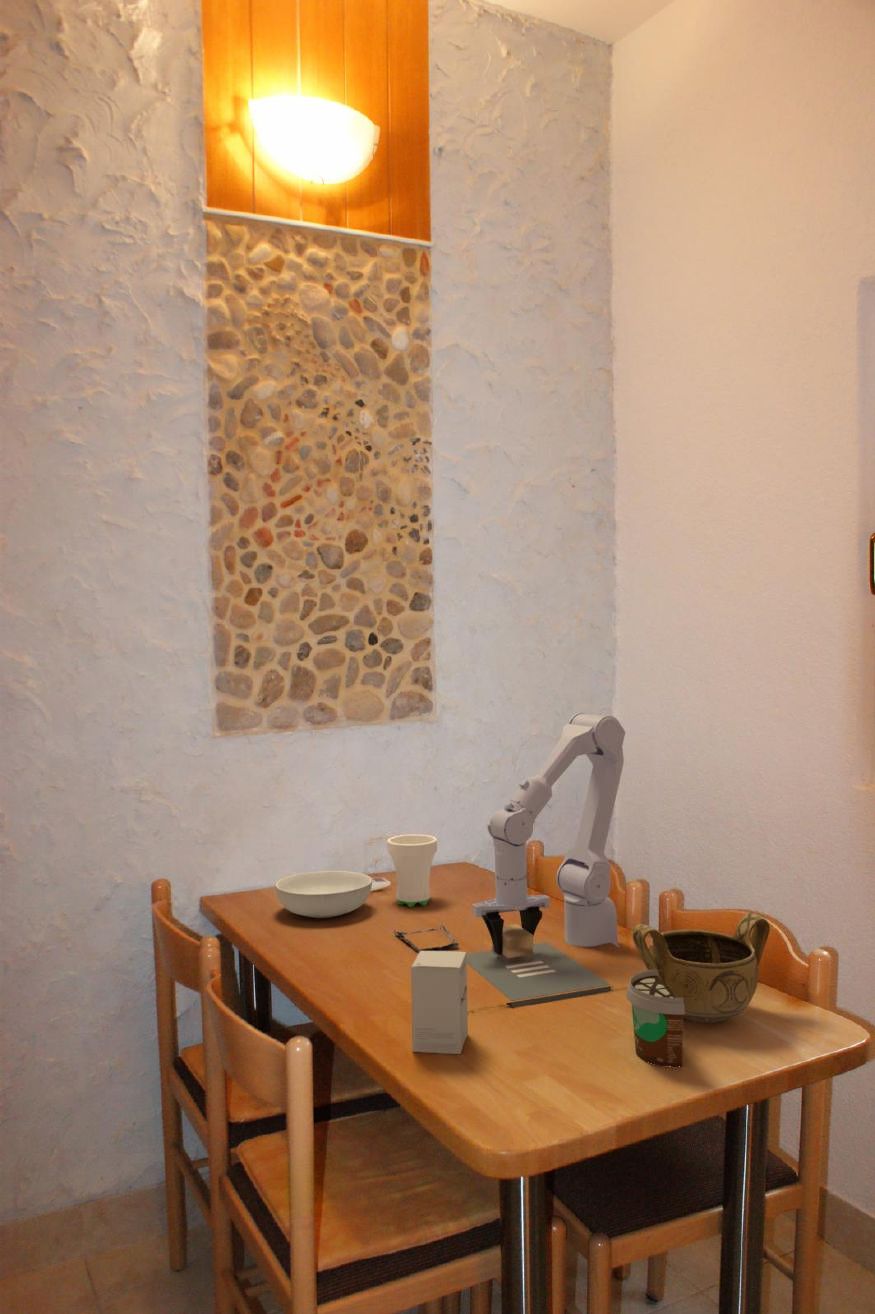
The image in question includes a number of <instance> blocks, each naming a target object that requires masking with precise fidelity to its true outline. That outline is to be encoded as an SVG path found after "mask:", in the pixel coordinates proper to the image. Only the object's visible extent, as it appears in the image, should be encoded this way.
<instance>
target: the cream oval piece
mask: <svg viewBox="0 0 875 1314" xmlns="http://www.w3.org/2000/svg"><path fill="white" fill-rule="evenodd" d="M372 885H373V879H372V877H371V876H369V875H367V874H365V873H360V872H356V871H355V872H354V871H345V870H320V871H319V870H318V871H309V872H302V873H297V874H292V875H289V876H285V877H283V878H281V879H279V880H278V881H276V883H275V891H276V892H275V893H276V897H277V899H278V901H279V903H280V905H282V906H283V908H284V909H286V910H287V911H289V912H291V913H293V914H295V915H300V916H304V917H308V918H311V919H312V918H313V919H327V918H329V919H330V918H334V917H339V916H341V915H344V914H347V913H350V912H353V911H354V910H357V909H359V908H361V906H362V905H364V904H365V902H366V901H367V899H369V897H370V894H371V891H372V887H373V886H372Z"/></svg>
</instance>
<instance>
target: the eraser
mask: <svg viewBox="0 0 875 1314" xmlns="http://www.w3.org/2000/svg"><path fill="white" fill-rule="evenodd" d="M533 944H534V936H533V935H532V934H531V933H529V932H528V931H526V930H525V929H523V928H522V926H520V925H519V924H517V923H515V924H507V925H503V932H502V945H503V950H502V954H501V955H498V954H497V953H496V952H494V947H493V942H492V941H491V947H492V948H491V950H492V952H493V953H494V954H496V955H497V956H498V957H500V958H501V959H502V960H504V961H505V962H506V963H508V964H509V963H516V962H523V961H529V960H533Z"/></svg>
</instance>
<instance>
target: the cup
mask: <svg viewBox="0 0 875 1314" xmlns="http://www.w3.org/2000/svg"><path fill="white" fill-rule="evenodd" d="M386 842H387V843H386V845H387V852H388V854H389V855H390V857H391V861H392V863H393V866H394V869H395V875H396V876H395V877H396V886H397V887H396V889H395V890H396V891H395V897H396V902H397V905H402V906H403V905H407V907H409V908H412V907H414V906H415V905H416V904H417V903H418V905H421V906H426V905H427V904H428V902H429V901H430V899H431V895H432V894H431V887H430V875H431V868H432V863H433V861H434V857H435V855H436V852H437V851H438V839H437V838H436V837H435V836H433V835H430V834H417V833H416V834H415V833H414V834H413V833H412V834H411V833H410V834H401V835H395V836H392V837H389V838H388V839H387V841H386Z"/></svg>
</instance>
